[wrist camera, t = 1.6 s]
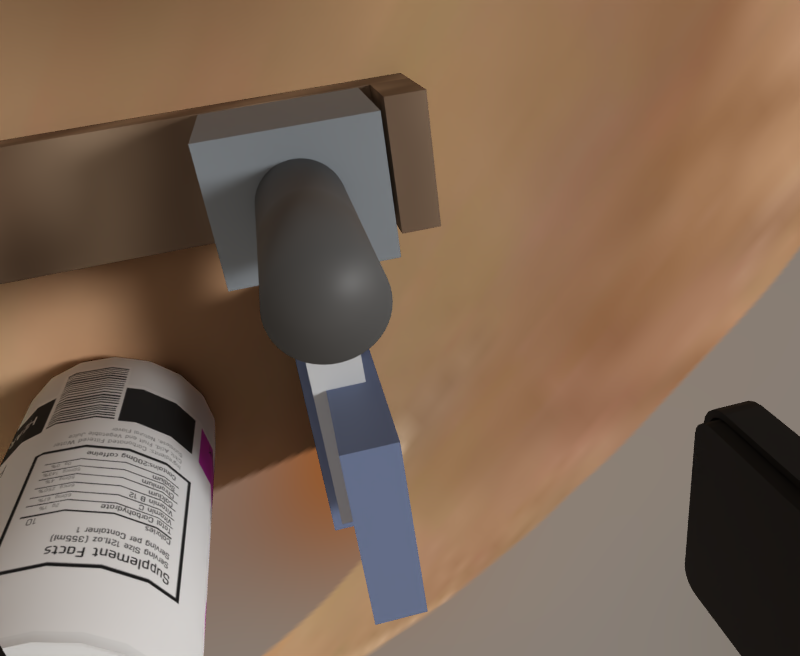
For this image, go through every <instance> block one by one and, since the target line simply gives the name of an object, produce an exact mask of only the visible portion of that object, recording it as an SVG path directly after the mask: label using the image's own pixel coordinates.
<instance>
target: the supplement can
mask: <svg viewBox="0 0 800 656" xmlns="http://www.w3.org/2000/svg"><path fill="white" fill-rule="evenodd" d="M215 448H216V440H215V419H214V417H213V415H212V413H211V411H210V409H209V407H208V405H207V403H206V401H205V399H204V397H203V395H202V394H201V393H200V392H199V391H198V390H197V389H196V388H194V387H193V386H192V385H191V384H190V383H189V382H188V381H187V380H186V379H185V378H183V377H182V376H181V375H180V374H178V373H175V372H173V371H171V370H169V369H166V368H164V367H162V366H160V365H157V364H155V363H153V362H150V361H143V360H135V359H127V358H119V357H112V358H106V359H100V360H94V361H88V362H82V363H80V364H78V365H76V366H74V367H72V368H70V369H68V370H66V371H64V372H62V373H60V374H59V375H57V376H55V377H53V378H51V380H50V381H49V382H48V383H47V384H46V385H45V386H44V388H43V389H42V390H41V391H40V392H39V393H38V394H37V396H36V397H35V398H34V399H33V400H32V402H31V404H30V406H29V408H28V410H27V412H26V414H25V416H24V418H23V420H22V422H21V425H20V427H19V429H18V431H17V433H16V435H15V437H14V439H13V441H12V443H11V445H10V447H9V449H8V451H7V453H6V455H5V457H4V459H3V461H2V463H1V465H0V646H1V648H2V649H3V651H4V653H5V654H6V656H203V654H204V637H205V621H206V604H207V586H208V569H209V552H210V534H211V517H212V500H213V482H214V465H215Z"/></svg>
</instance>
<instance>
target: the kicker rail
mask: <svg viewBox="0 0 800 656" xmlns="http://www.w3.org/2000/svg"><path fill="white" fill-rule="evenodd" d="M352 88H359V89H360V90H361V91H362V92H363V93H364V94H365V95H366V96H367V97H368V98H369V99H370V100H371V101H372V102H373V103H374V104H375V106H376V107H377V108H378V109H379V110H380V111H381V118H382V125H383V132H384V139H385V146H386V153H387V161H388V168H389V175H390V182H391V189H392V196H393V203H394V211H395V218H396V224H397V225H398V227H399V229H400V230H401V232H402V234H403V233H408V232H413V231H418V230H423V229H428V228H434V227H439V226H441V222H440V213H439V203H438V194H437V185H436V176H435V166H434V157H433V148H432V139H431V129H430V120H429V111H428V102H427V93H426V89H424V88H423V87H421V86H420V85H418V84H417V83H415V82H414V81H412V80H411V79H409V78H407V77H406V76H404V75H403V74H401V73H398V74H392V75H386V76H380V77H374V78H368V79H362V80H357V81H351V82H345V83H339V84H333V85H327V86H321V87H315V88H309V89H303V90H297V91H291V92H286V93H280V94H274V95H268V96H262V97H256V98H250V99H244V100H238V101H232V102H226V103H221V104H215V105H209V106H203V107H197V108H191V109H185V110H179V111H173V112H167V113H161V114H156V115H150V116H144V117H138V118H132V119H126V120H120V121H114V122H108V123H102V124H96V125H91V126H85V127H79V128H73V129H67V130H61V131H55V132H49V133H43V134H37V135H31V136H25V137H20V138H14V139H8V140H2V141H0V284H3V283H8V282H14V281H19V280H24V279H29V278H35V277H40V276H45V275H50V274H55V273H61V272H66V271H71V270H76V269H82V268H87V267H92V266H97V265H103V264H108V263H113V262H118V261H123V260H129V259H134V258H139V257H144V256H150V255H155V254H160V253H165V252H170V251H176V250H181V249H186V248H191V247H197V246H202V245H207V244H212V243H215V240H214V236H213V233H212V229H211V226H210V222H209V218H208V215H207V211H206V207H205V204H204V200H203V196H202V193H201V189H200V185H199V182H198V178H197V174H196V171H195V167H194V163H193V160H192V156H191V152H190V149H189V145H188V144H189V140H190V137H191V134H192V131H193V128H194V125H195V121H196V118H197V115H199V114H205V113H211V112H217V111H223V110H229V109H235V108H240V107H246V106H252V105H258V104H264V103H270V102H276V101H282V100H287V99H293V98H299V97H305V96H311V95H317V94H323V93H329V92H334V91H340V90H346V89H352Z"/></svg>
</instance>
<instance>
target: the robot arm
mask: <svg viewBox="0 0 800 656" xmlns="http://www.w3.org/2000/svg"><path fill="white" fill-rule="evenodd" d="M688 519H689V520H688V531H687V545H686V557H685V571H686V576H687V579H688V582H689V584H690V586H691V588H692V590H693V591H694V593H695V594H696V596H697V597H698V599H699V600H700V601H701V603H702V604H703V605H704V607H705V608H706V609H707V610H708V612H709V613H710V615H711V616H712V617H713V618H714V620H715V621H716V622H717V624H718V625H719V627H720V628H721V629H722V631H723V632H724V633H725V635H726V636H727V637H728V638H729V640H730V641H731V643H732V644H733V645H734V647H735V648H736V649H737V651H738V652H739V653H740V655H741V656H800V436H798V435H797V434H796V433H795V432H793V431H792V430H791V429H790V428H788V427H787V426H786V425H785V424H783V423H782V422H781V421H780V420H779V419H777V418H776V417H775V416H773V415H772V414H771V413H770V412H769V411H767V410H766V409H765V408H764V407H762V406H761V405H759V404H758V403H756V402H753V401H746V402H742V403H738V404H734V405H731V406H726V407H722V408H718V409H714V410H711V411H709V412H708V413H707V415H706V416H705V420H704V423H702V424H700V425H698V427H697V428H696V432H695V441H694V454H693V467H692V481H691V493H690V506H689V518H688ZM0 656H6V654H5V653H4V651H3V649H2V648H1V646H0Z"/></svg>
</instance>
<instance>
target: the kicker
mask: <svg viewBox="0 0 800 656" xmlns="http://www.w3.org/2000/svg"><path fill="white" fill-rule="evenodd" d="M188 145H189V149H190V152H191V156H192V160H193V163H194V167H195V171H196V174H197V178H198V182H199V185H200V189H201V193H202V196H203V200H204V204H205V207H206V211H207V215H208V218H209V222H210V226H211V229H212V233H213V236H214V240H215V244H216V247H217V251H218V255H219V258H220V262H221V266H222V269H223V273H224V277H225V280H226V284H227V288H228V291H233V290H238V289H243V288H248V287H253V286H258V285H259V299H260V314H261V320H262V323H263V326H264V329H265V331H266V333H267V335H268V336H269V338H270V339H271V341H272V342H273V343H274V344H275V345H276V346H277V347H278V348H279V349H280V350H281V351H283V352H284V353H285V354H287V355H289V356H290V357H292V358H294V359H295V361H296V365H297V369H298V373H299V378H300V382H301V386H302V390H303V395H304V399H305V403H306V408H307V412H308V416H309V420H310V425H311V429H312V433H313V437H314V442H315V446H316V450H317V454H318V459H319V463H320V467H321V471H322V476H323V480H324V484H325V488H326V493H327V497H328V501H329V505H330V509H331V514H332V518H333V522H334V526H335V530H339V529H343V528H347V527H351V526H354V528H355V532H356V536H357V541H358V546H359V551H360V555H361V560H362V564H363V569H364V574H365V578H366V583H367V587H368V592H369V597H370V601H371V606H372V611H373V615H374V620H375V624H376V625H377V624H381V623H384V622H388V621H392V620H396V619H400V618H404V617H408V616H411V615H415V614H419V613H423V612H427V605H426V599H425V593H424V587H423V580H422V574H421V568H420V562H419V556H418V550H417V544H416V537H415V531H414V525H413V519H412V513H411V507H410V501H409V494H408V488H407V482H406V476H405V470H404V464H403V458H402V451H401V445H400V441H399V438H398V435H397V432H396V429H395V426H394V423H393V420H392V417H391V414H390V411H389V408H388V405H387V402H386V399H385V396H384V393H383V390H382V387H381V384H380V381H379V378H378V375H377V372H376V369H375V366H374V363H373V360H372V357H371V354H370V351H369V348H370V347H372V346H373V345H374V344H375V343H376V342H377V341H378V339H379V338H380V337H381V335H382V334H383V332H384V331H385V329H386V327H387V325H388V323H389V320H390V317H391V312H392V302H393V301H392V292H391V287H390V284H389V282H388V279H387V277H386V275H385V273H384V270H383V268H382V266H381V264H380V262H379V261H383V260H389V259H394V258H399V257H401V253H400V246H399V239H398V232H397V225H396V218H395V211H394V203H393V196H392V189H391V182H390V175H389V168H388V161H387V153H386V146H385V139H384V132H383V125H382V118H381V111H380V110H379V109H378V108H377V107H376V106H375V104H374V103H373V102H372V101H371V100H370V99H369V98H368V97H367V96H366V95H365V94H364V93H363V92H362V91H361V90H360V89H359V88H352V89H346V90H340V91H334V92H329V93H323V94H317V95H311V96H305V97H299V98H293V99H287V100H282V101H276V102H270V103H264V104H258V105H252V106H246V107H240V108H235V109H229V110H223V111H217V112H211V113H205V114H199V115H197V118H196V121H195V125H194V128H193V131H192V134H191V137H190V140H189V144H188Z"/></svg>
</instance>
